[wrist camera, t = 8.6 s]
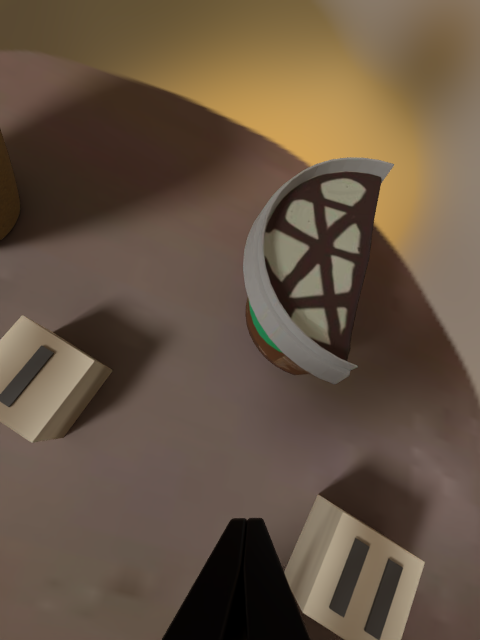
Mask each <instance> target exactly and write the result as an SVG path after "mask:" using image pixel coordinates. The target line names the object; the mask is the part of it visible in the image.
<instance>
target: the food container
mask: <svg viewBox="0 0 480 640" xmlns="http://www.w3.org/2000/svg"><path fill="white" fill-rule="evenodd" d="M393 166H394V164H391V163H388V162H384V161H381V160H375V159H368V158H340V159H333V160H329V161H325V162H322V163H319V164H316V165H314V166H311V167H309V168H307V169H305V170H303V171H302V172H300V173H299V174H297V175H296V176H295V177H293V178H292V179H291V180H289V181H288V182H286V183H285V184H284V185H283V186H282V187H281V188H280V189H279V190H278V191H277V192H276V193H275V194H274V195H273V196H272V197H271V199H270V200H269V201H268V203H267V204H266V206H265V207H264V208H263V210H262V211H261V213H260V214H259V216H258V217H257V219H256V220H255V221H254V223H253V226H252V228H251V230H250V233H249V235H248V238H247V242H246V246H245V250H244V263H243V272H244V281H245V288H246V291H247V294H248V298H247V303H246V322H247V327H248V330H249V334H250V336H251V338H252V340H253V342H254V344H255V345H256V347H257V348H258V350H259V351H260V352H261V353H262V354H263V355H264V356H265V358H266V359H268V360H269V361H270V362H271V363H272V364H274V365H275V366H277V367H278V368H280V369H282V370H283V371H286V372H288V373H291V374H293V375H302V374H313V375H314V376H316V377H318V378H320V379H323V380H325V381H327V382H330V383H332V384H337V383H338V382H340V381H342V380H343V379H345V378H346V377H348V376H349V374H350V370H353V369H355V368H357V367H358V366H357V365H355V364H352V363H350V362H348V361H347V359H348V354H349V351H350V341H351V334H352V329H353V324H354V319H355V314H356V310H357V305H358V301H359V297H360V292H361V288H362V285H363V281H364V277H365V273H366V269H367V265H368V261H369V256H370V248H371V239H372V230H373V223H374V216H375V212H376V206H377V201H378V196H379V190H380V185H381V183H382V181H383V180H384V178H385V177H386V176H387V174H388V173H389V171H390V170H391V169H392V167H393Z"/></svg>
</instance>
